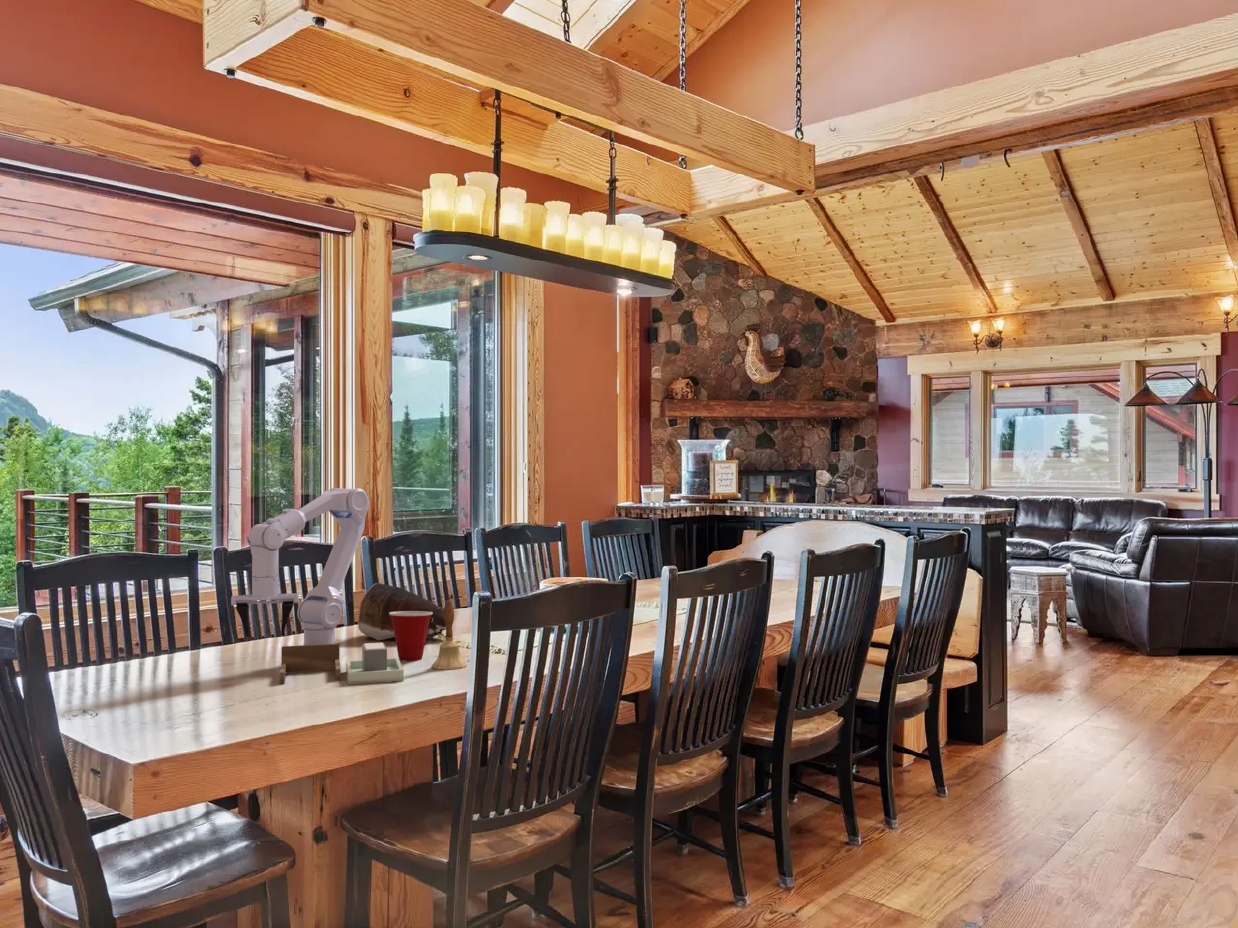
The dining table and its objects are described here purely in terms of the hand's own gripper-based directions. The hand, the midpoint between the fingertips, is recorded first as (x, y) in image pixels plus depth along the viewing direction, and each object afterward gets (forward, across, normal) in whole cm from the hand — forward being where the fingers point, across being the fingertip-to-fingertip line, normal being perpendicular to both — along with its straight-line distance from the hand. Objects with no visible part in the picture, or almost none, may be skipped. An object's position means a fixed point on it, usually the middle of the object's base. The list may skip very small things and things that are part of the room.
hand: (265, 634), depth 219 cm
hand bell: (+10, +42, -2) cm, 43 cm away
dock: (+9, +10, -4) cm, 14 cm away
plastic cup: (+10, +34, +10) cm, 37 cm away
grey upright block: (+9, +24, -8) cm, 27 cm away
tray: (+9, +24, -8) cm, 27 cm away
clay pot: (+10, +36, +38) cm, 53 cm away
